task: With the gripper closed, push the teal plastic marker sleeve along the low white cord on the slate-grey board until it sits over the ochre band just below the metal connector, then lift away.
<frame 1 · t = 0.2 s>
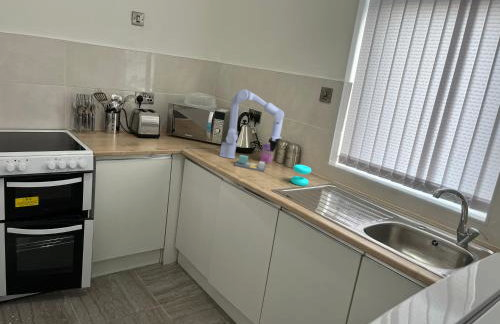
hand: (272, 150, 242), 10 cm above the worktop, tool pointing down, fingers open, 7 cm apart
donuts: (299, 183, 215), on the worktop
box: (266, 161, 254), on the worktop, touching gripper
sleeve: (243, 159, 232), point 4 cm above the worktop, slide at 0.0 cm
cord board: (250, 166, 232), on the worktop
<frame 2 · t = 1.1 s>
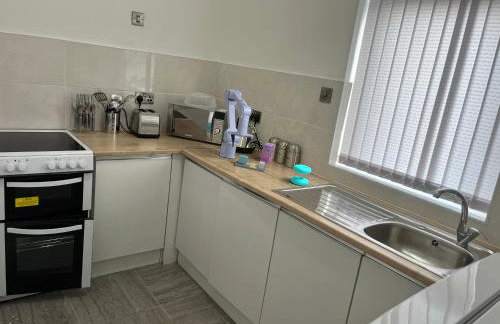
hand: (238, 148, 233), 9 cm above the worktop, tool pointing down, fingers open, 7 cm apart
box: (266, 161, 254), on the worktop
everything else where it was.
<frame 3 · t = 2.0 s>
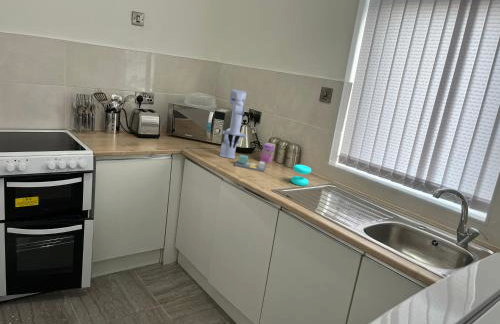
hand: (232, 147, 231), 9 cm above the worktop, tool pointing down, fingers closed
nothing on the worktop moved.
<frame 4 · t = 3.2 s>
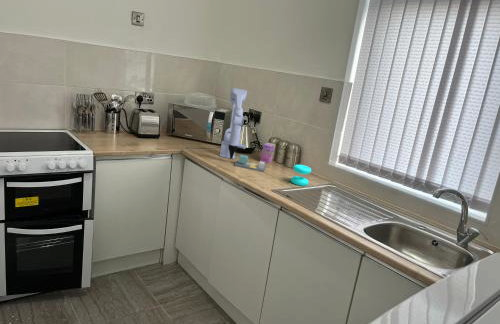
hand: (231, 157, 233), 3 cm above the worktop, tool pointing down, fingers closed
nothing on the worktop moved.
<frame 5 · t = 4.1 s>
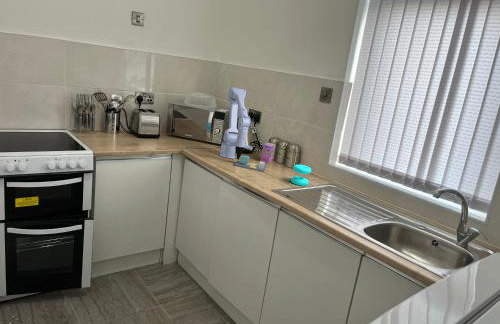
hand: (238, 159, 232), 3 cm above the worktop, tool pointing down, fingers closed
sleeve: (244, 159, 232), point 4 cm above the worktop, slide at 0.7 cm, touching gripper
everything else where it was.
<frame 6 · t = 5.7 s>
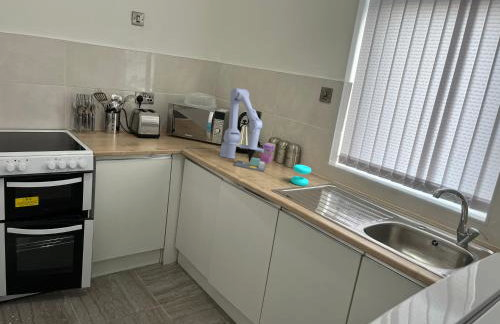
hand: (249, 161, 232), 3 cm above the worktop, tool pointing down, fingers closed
sleeve: (255, 161, 231), point 4 cm above the worktop, slide at 7.4 cm, touching gripper
everything else where it was.
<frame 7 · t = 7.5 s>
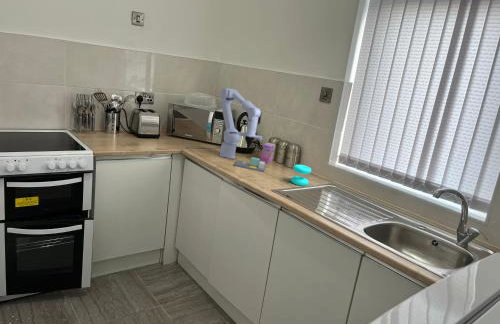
hand: (247, 149, 236), 9 cm above the worktop, tool pointing down, fingers closed
sleeve: (255, 161, 231), point 4 cm above the worktop, slide at 7.2 cm
everything else where it was.
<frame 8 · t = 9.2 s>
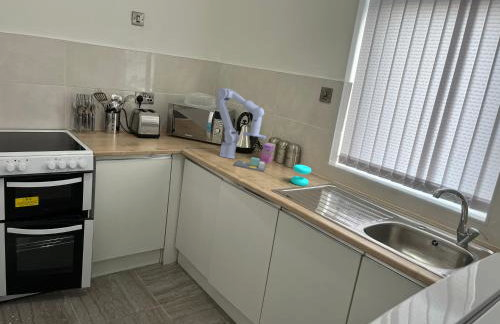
hand: (251, 148, 240), 9 cm above the worktop, tool pointing down, fingers closed
nothing on the worktop moved.
at the end: sleeve slide at 7.2 cm; box moved 0.3 cm from its start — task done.
